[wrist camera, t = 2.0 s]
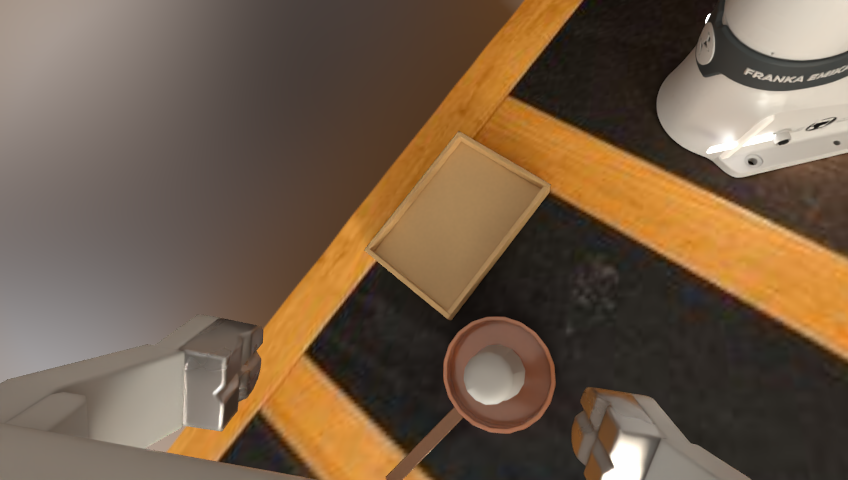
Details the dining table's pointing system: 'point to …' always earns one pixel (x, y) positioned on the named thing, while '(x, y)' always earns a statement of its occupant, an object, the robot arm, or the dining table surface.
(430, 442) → the pan handle
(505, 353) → the salt shaker
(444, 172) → the tray
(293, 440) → the dining table surface
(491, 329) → the pan
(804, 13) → the robot arm
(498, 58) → the dining table surface
